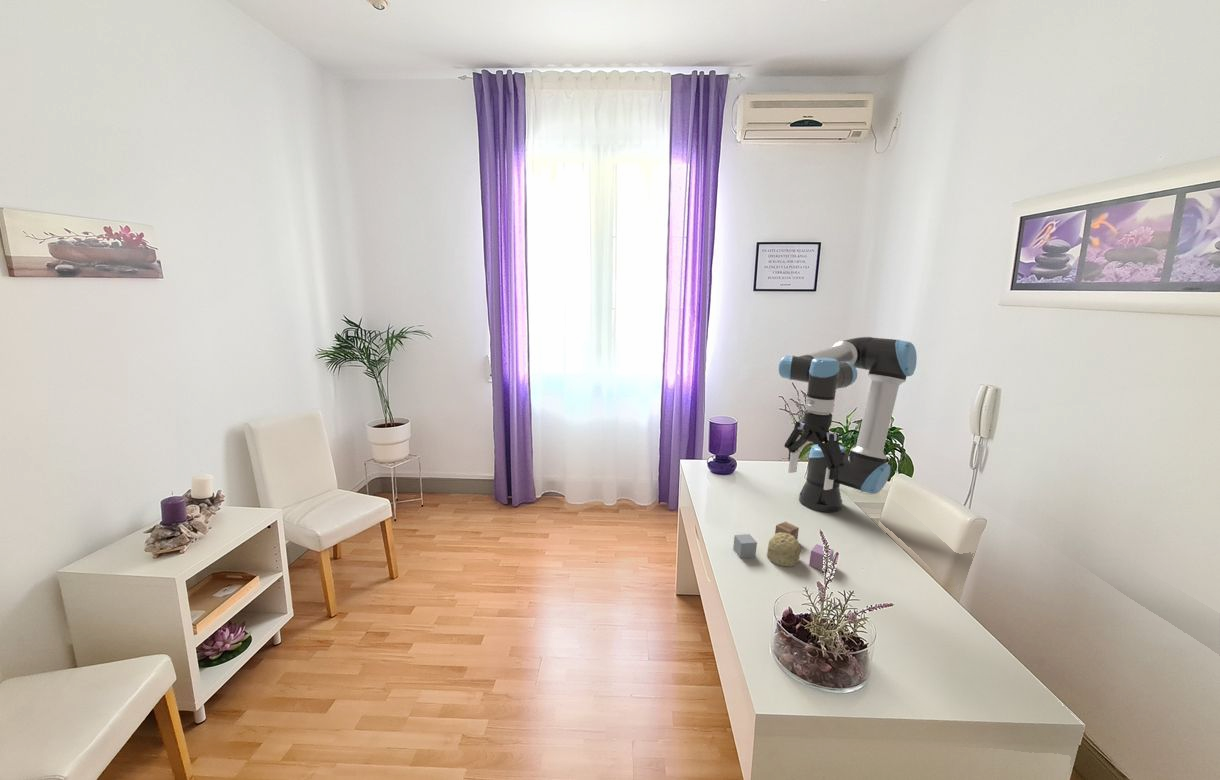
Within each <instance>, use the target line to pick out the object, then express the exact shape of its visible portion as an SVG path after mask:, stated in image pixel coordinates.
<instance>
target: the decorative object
mask: <svg viewBox="0 0 1220 780" xmlns="http://www.w3.org/2000/svg"><path fill="white" fill-rule="evenodd" d="M800 555H801V546H800V542H799V540H798V539H796V538H795V537H794V536H793V535H791V534H789V533H782V532H779V533H776V534H775V533H774V535H773V536H772V537H771V538H770V539H769V541H768V546H767V552H766V558H767V559H768V560H769V561H770V562H772V563H773V564H774V565H778V566H781V567H786V568H791V567H793V566H794V567H795V566H796V565H797V564H798V562H799V560H800ZM795 564H796V565H795Z"/></svg>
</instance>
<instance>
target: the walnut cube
mask: <svg viewBox="0 0 1220 780" xmlns="http://www.w3.org/2000/svg"><path fill="white" fill-rule="evenodd" d="M799 529H800V527H798V526H796V525H794V524H792V523H790V522H788V521H784V522H780V523H778V524H776V525H775V532H774V535H775V534H776V533H779V532H782V533H789V534H791V535H793V536H794V537H795V538H796V539H797V540H799V539H798V538H799V537H798V536H799Z"/></svg>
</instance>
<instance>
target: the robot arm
mask: <svg viewBox="0 0 1220 780" xmlns="http://www.w3.org/2000/svg"><path fill="white" fill-rule="evenodd" d="M917 360H918V359H917V350H916V346H915V345H914V343H912V342H911V341H906V340H903V339H902V340H901V339H891V338H879V337H871V336H861V337H853V338H849V339H845V340H841V341H838V342H836V343H834V345H833V346H831V347H827V348H824V349H820V350H817V351H814V352H811V353H807V354H803V355H800V356H795V355H788V354H787V355H784V356H783V357H782V358H781V359H780V361H779V363H778V374H779V376H780V377H781V378H783V379H787V380H789V381H798V382H803V383H808V384H807V392H806V400H805V406H804V407H805V411H804V414H803V420H801V421H796V422H795V424H794V427H793V430H792V432H791V433H790V435H789V436H788V438H787V440H786V441H785V443H784V445H783V446H784V448H787V450H788V451H789V452H788V458H787V459H788V461H789V464H788V470H787V471H788V473H789V474H793V473H797V470H798V463H799V456H800V452H799V449H800V448H801V447H802V446H803V445H804V444H806V443H807V442H809V443H811V442H812V443H813V444H815V445H812V446H811V448H810V451H809V456H808V463H807V472H806V481H805V483H804V485H803V487H802V489H801V490H800V492H799V497H798V501H799V503H801V504H802V505H803V506H804V507H806V508H808V509H811V510H814V511H818V512H823V513H825V512H826V513H835V512H839V511H840V510H841V509H842V507H843V499H842V495H841V489H840V485H842V486H846V487H848V488H851V489H854V490H857V491H860V492H862V493H867V494H871V495H876V494H878V493H880V492H881V491H882V490H883V488H884V487H885V486H886V484H887V482H888V479H889V478H890V474H891V465H890V464H889V463H887V459H888V458H887V456H886V454H885V453H884V449H885V447H886V446H885V445H886V441H887V438H888V437H887V436H888V432H889V429H890V424H891V421H892V417H893V413H894V409H895V404H896V400H897V396H898V391H899V388H900V385H902V384H903V383H905V382H906V380H907V377H911V376H913V375H914V373H915V370H916V367H917ZM857 369H861V370H867V371H868V377H869V378H870V379H871V382H870V387H869V392H868V395H867V399H866V403H865V408H864V411H863V416H862V420H861V425H860V428H859V429H860V430H859V432H858V437H857V441H856V444H855V445H856V446H854V447H852V448H850V450H849V452H846V448H845V447H844V446H843V445H840V442H839V439H840V438H839V436H840V435H839V433H838V432H834V433H833V432H830V428H831V426H832V420H833V414H832V413H833V412H834V409H835V407H834V406H835V400H836V399H835V398H836V394H837V393H836V392H837V390H838V389H841V388H842V389H844V388H847V387H849V386H851V385H853V384H854V383H855V382H856V380H857V378H858V370H857ZM802 432H803V433H802Z"/></svg>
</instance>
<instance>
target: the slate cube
mask: <svg viewBox="0 0 1220 780" xmlns="http://www.w3.org/2000/svg"><path fill="white" fill-rule="evenodd" d="M733 537H734V538H733V545H732V546H733V548H732V549H733V551H734V552H735V554H736V553H737V554H736V555H737V556H738V558H739V559H746V558H749V557H750V558H756V555H757V546H758V541H757V540H755V539H754V538H753V536H752V535H751V533H750V534H749V533H747V534H744V533H743V534H734V536H733Z"/></svg>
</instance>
